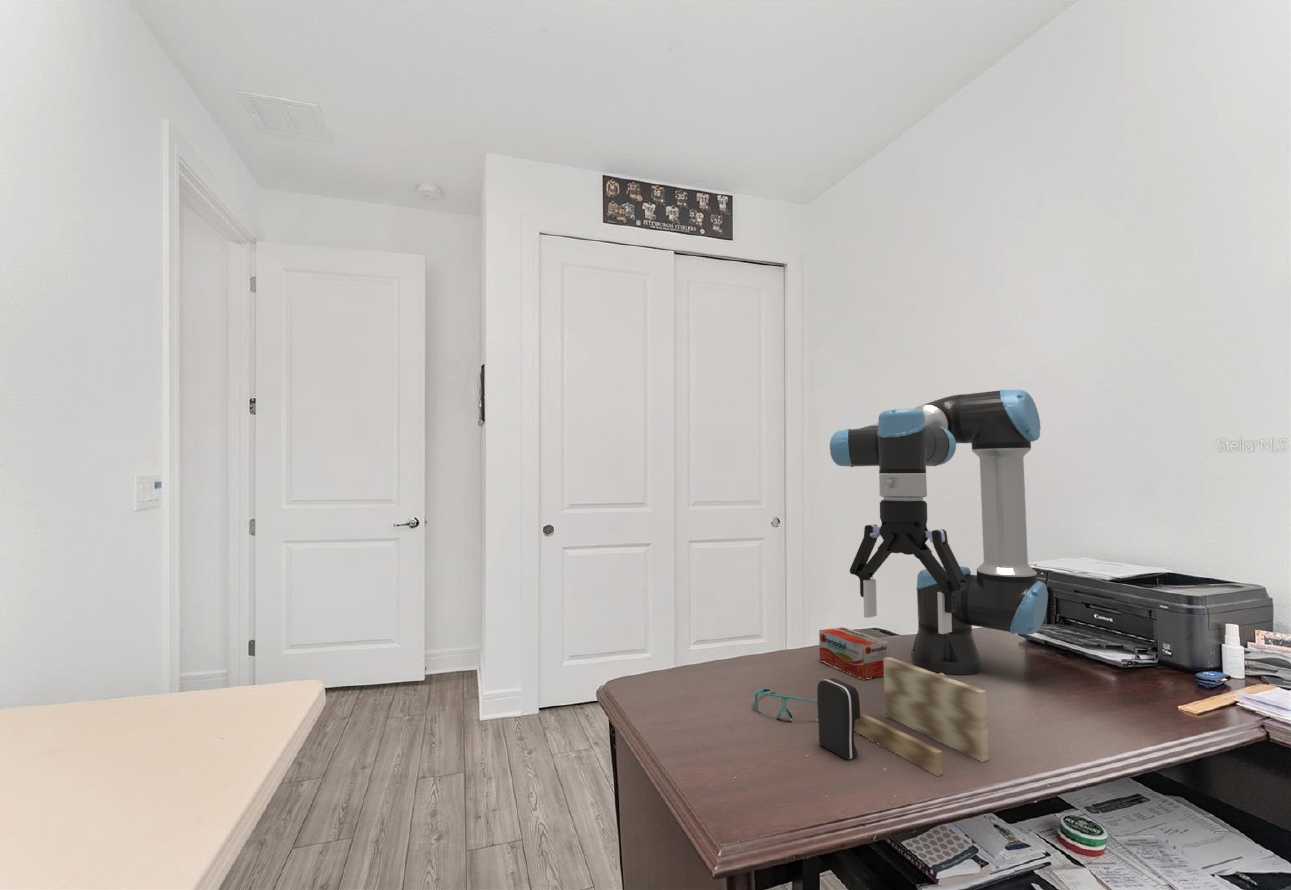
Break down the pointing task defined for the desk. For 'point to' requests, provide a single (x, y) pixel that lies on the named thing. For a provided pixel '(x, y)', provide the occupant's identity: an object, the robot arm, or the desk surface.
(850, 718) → the battery charger
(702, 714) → the desk surface
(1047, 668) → the desk surface
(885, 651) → the medicine box
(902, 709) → the wooden boards
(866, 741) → the desk surface
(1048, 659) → the desk surface
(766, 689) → the sunglasses
